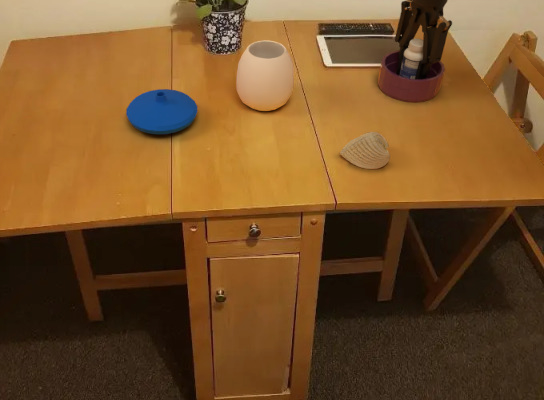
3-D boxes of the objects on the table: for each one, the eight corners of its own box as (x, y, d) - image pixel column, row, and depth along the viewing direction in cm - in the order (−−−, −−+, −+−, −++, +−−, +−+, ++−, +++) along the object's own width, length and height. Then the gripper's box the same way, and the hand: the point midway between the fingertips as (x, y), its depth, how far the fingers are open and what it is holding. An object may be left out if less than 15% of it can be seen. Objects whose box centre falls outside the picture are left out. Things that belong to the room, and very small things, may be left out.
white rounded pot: (254, 123, 130) (256, 70, 120) (225, 95, 138) (225, 43, 129) (303, 107, 134) (308, 55, 125) (272, 81, 143) (275, 30, 134)
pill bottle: (403, 71, 142) (412, 34, 135) (424, 78, 140) (434, 40, 133) (394, 81, 139) (402, 43, 132) (416, 88, 136) (425, 50, 130)
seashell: (399, 164, 116) (369, 152, 112) (369, 180, 122) (340, 169, 118) (395, 129, 119) (366, 117, 115) (366, 146, 126) (338, 135, 122)
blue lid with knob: (114, 119, 131) (109, 92, 126) (169, 93, 139) (167, 67, 134) (155, 151, 122) (152, 124, 118) (212, 122, 130) (211, 96, 125)
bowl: (451, 93, 139) (458, 71, 134) (404, 109, 134) (410, 87, 130) (410, 66, 148) (415, 44, 144) (365, 80, 143) (369, 58, 139)
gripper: (390, -29, 128) (373, 65, 144) (451, 2, 116) (424, 101, 132) (416, -35, 131) (396, 58, 146) (479, -5, 119) (449, 93, 134)
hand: (410, 78), depth 139 cm, fingers closed on pill bottle, 5 cm apart
